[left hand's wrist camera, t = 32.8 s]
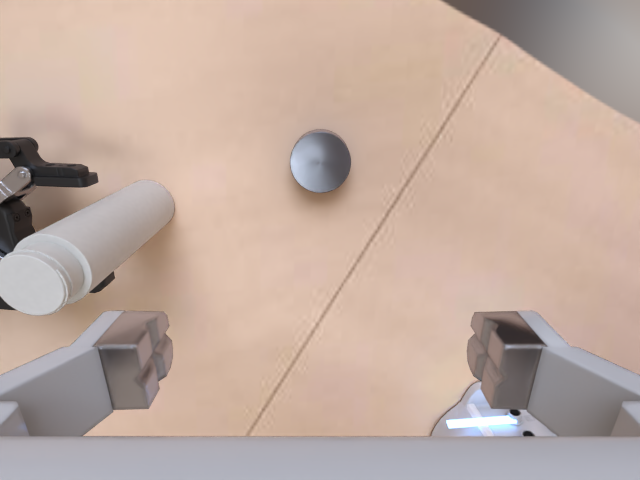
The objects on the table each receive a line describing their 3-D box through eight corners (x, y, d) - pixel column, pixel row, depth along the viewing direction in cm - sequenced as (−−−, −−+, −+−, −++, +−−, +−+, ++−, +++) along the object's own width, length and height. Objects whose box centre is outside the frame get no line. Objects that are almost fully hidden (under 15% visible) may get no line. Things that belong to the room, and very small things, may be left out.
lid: (310, 196, 37) (309, 203, 35) (280, 148, 36) (278, 152, 33) (359, 169, 36) (361, 174, 34) (331, 117, 35) (332, 119, 33)
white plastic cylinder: (141, 234, 39) (20, 333, 23) (114, 191, 37) (-35, 265, 22) (183, 217, 38) (89, 307, 22) (158, 172, 36) (37, 234, 21)
